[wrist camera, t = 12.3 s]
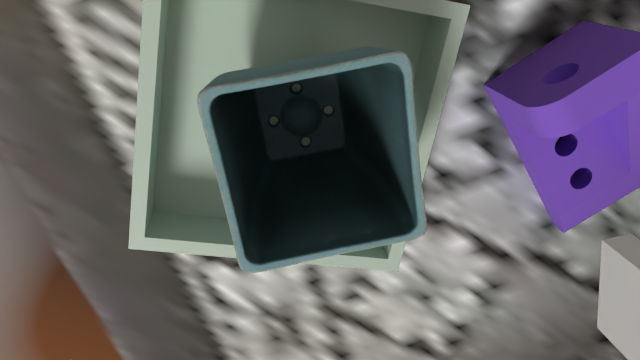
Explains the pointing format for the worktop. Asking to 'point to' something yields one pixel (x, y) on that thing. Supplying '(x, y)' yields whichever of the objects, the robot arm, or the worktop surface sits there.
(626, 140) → the bracket
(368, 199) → the flower pot
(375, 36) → the pale green square tray
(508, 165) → the worktop surface
